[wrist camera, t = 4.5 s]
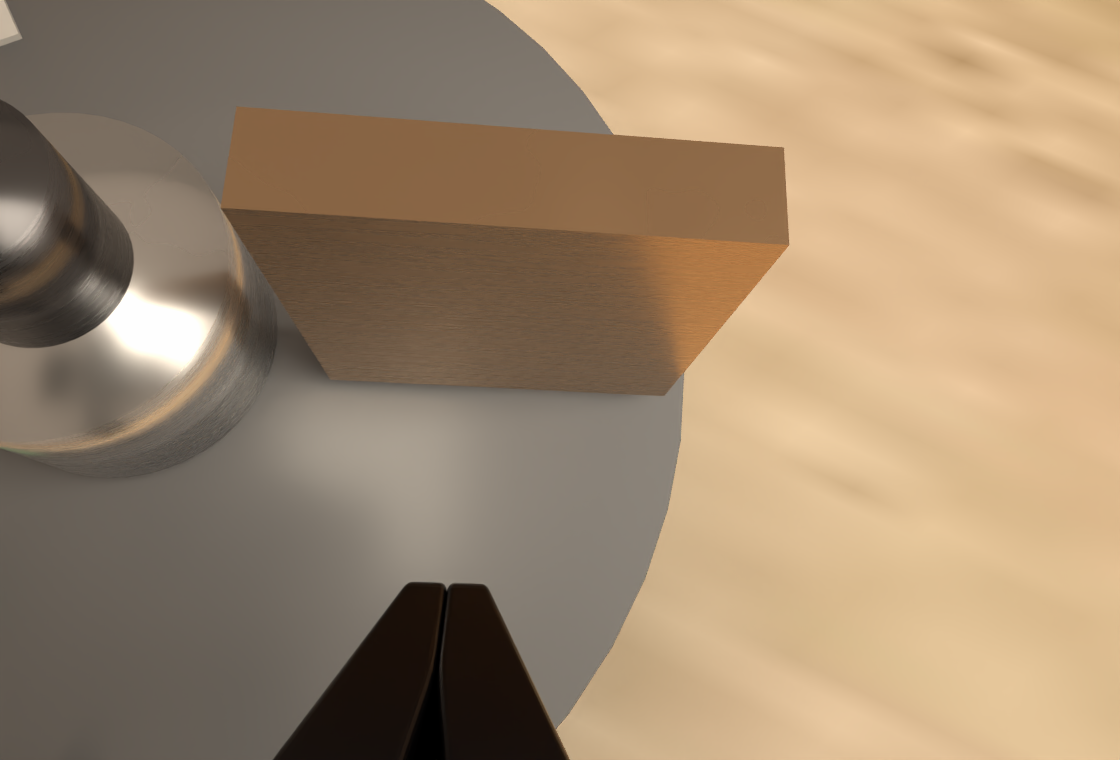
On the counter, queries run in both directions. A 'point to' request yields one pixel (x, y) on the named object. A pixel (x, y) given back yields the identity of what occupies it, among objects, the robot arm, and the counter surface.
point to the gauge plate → (307, 423)
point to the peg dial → (352, 267)
